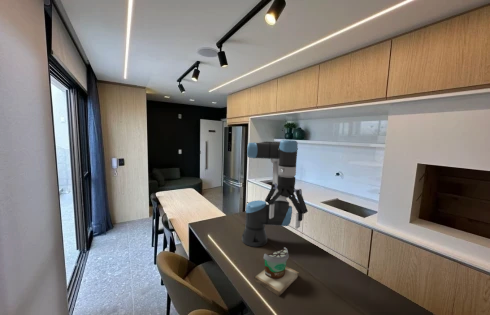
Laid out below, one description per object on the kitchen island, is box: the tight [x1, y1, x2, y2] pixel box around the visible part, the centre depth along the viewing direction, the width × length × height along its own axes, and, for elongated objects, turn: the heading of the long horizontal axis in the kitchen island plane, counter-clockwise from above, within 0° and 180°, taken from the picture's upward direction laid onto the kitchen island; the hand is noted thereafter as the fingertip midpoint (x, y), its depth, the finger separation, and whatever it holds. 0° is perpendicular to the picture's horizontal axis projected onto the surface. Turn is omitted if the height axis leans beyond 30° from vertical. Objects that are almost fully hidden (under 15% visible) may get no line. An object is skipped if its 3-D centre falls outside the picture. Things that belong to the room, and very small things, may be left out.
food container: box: [263, 246, 290, 279], centre depth 86 cm, size 12×6×10 cm, turn 122°
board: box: [254, 265, 300, 297], centre depth 87 cm, size 12×16×2 cm
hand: (283, 222), depth 90 cm, fingers open, 13 cm apart
